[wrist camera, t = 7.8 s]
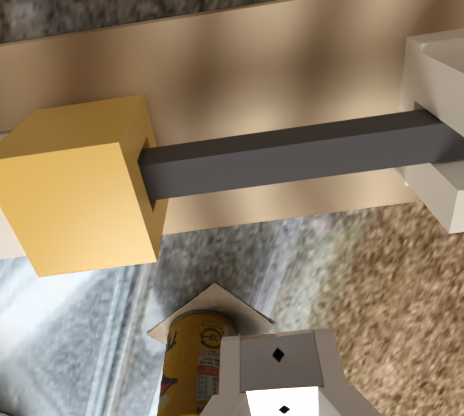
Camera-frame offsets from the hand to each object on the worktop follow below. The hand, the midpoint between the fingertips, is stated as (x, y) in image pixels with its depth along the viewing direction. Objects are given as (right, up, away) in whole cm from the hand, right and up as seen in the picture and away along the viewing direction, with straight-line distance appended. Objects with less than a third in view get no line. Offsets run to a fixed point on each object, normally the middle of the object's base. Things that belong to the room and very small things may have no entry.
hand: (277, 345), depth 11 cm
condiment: (-3, -7, +23) cm, 25 cm away
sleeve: (-9, +7, +12) cm, 16 cm away
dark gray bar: (-1, +7, +10) cm, 12 cm away
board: (-3, +9, +13) cm, 16 cm away
